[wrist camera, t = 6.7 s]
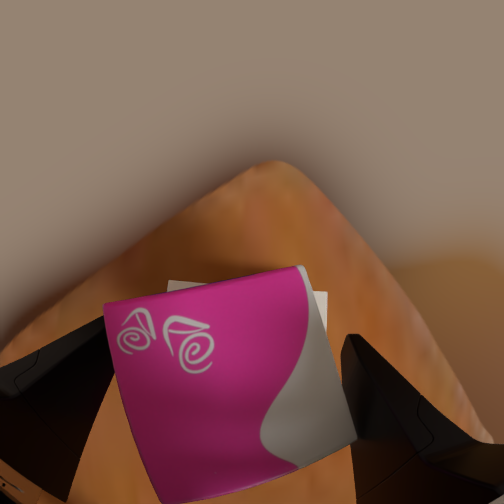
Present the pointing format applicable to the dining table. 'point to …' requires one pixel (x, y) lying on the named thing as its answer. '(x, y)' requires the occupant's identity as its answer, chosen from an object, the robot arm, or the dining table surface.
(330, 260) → the dining table surface
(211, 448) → the supplement box
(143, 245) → the dining table surface
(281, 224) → the dining table surface
